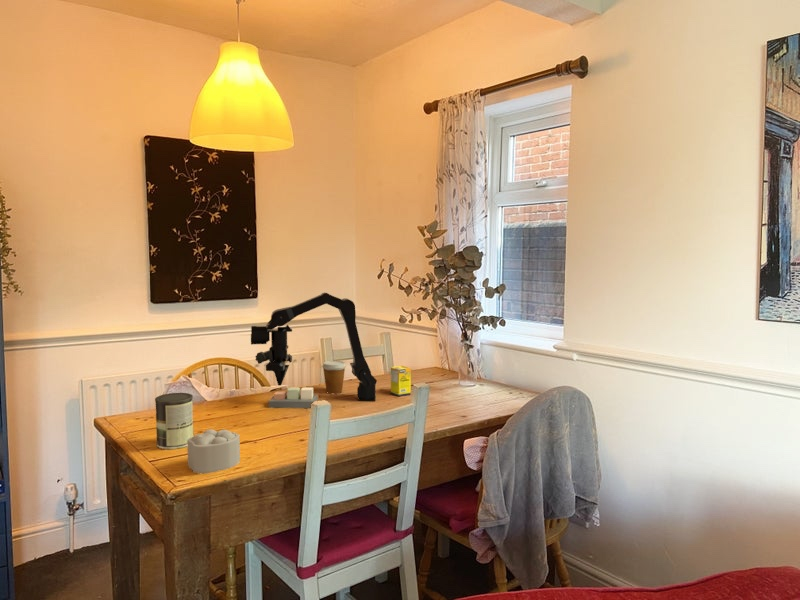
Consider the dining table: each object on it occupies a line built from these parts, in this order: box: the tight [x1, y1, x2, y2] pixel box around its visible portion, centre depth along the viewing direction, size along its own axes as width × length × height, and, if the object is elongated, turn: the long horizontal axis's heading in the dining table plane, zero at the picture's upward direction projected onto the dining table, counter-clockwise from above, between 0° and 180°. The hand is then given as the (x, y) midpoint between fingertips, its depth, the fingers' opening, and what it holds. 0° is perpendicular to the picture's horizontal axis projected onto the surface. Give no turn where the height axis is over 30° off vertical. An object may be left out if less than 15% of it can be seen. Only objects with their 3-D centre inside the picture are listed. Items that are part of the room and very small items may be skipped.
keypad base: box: [268, 394, 319, 409], centre depth 211 cm, size 16×10×2 cm, turn 90°
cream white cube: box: [300, 387, 314, 400], centre depth 211 cm, size 4×4×4 cm
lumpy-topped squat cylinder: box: [186, 428, 241, 475], centre depth 151 cm, size 10×13×9 cm
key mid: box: [286, 386, 301, 400], centre depth 211 cm, size 4×4×4 cm
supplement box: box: [390, 365, 412, 397], centre depth 227 cm, size 6×6×11 cm
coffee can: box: [154, 392, 194, 450], centre depth 167 cm, size 10×10×14 cm
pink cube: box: [273, 391, 287, 399], centre depth 211 cm, size 4×4×4 cm
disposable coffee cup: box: [321, 360, 347, 394], centre depth 230 cm, size 10×10×12 cm
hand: (279, 385), depth 211 cm, fingers closed
